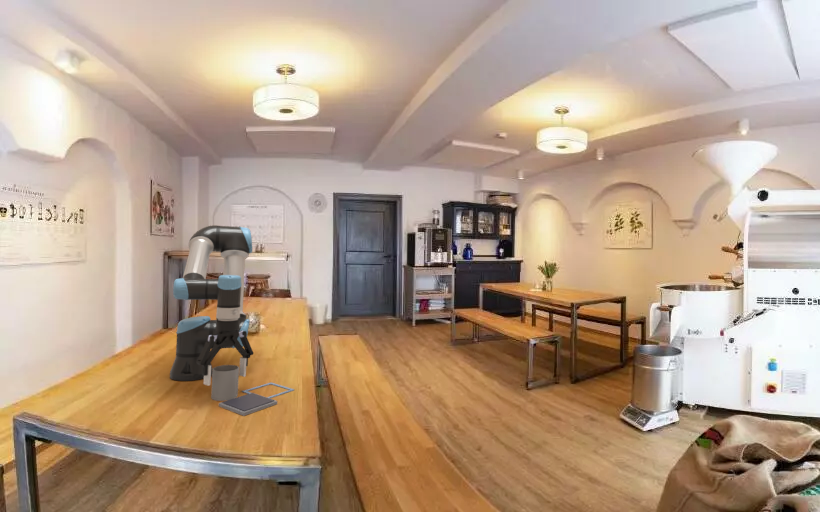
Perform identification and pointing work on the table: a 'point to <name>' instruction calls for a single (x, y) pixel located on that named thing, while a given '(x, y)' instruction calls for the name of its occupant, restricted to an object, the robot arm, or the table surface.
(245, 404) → the pad
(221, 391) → the cup
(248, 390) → the marked square
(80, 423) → the table surface
